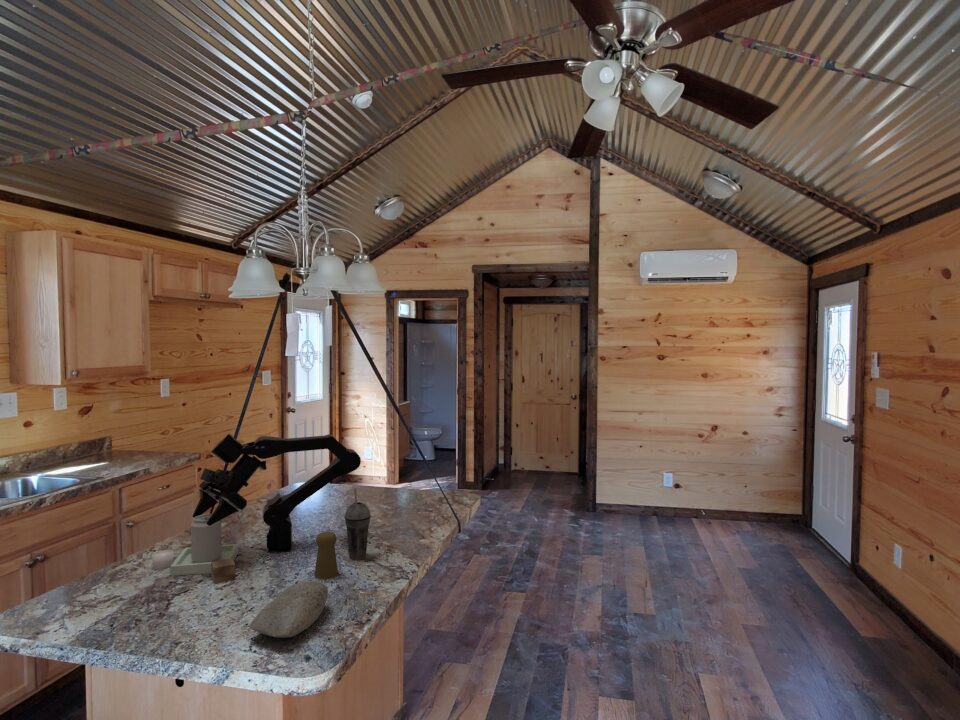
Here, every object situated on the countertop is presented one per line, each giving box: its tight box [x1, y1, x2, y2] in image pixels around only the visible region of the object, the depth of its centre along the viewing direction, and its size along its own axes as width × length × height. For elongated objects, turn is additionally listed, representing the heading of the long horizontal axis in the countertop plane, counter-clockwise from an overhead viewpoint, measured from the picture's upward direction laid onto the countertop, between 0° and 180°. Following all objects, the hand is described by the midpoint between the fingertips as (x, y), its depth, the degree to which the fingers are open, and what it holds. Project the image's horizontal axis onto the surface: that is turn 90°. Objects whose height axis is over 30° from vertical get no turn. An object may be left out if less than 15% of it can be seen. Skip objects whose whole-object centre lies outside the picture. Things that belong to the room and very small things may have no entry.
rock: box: [249, 580, 329, 639], centre depth 122 cm, size 8×11×20 cm
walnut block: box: [210, 558, 236, 584], centre depth 146 cm, size 5×5×4 cm
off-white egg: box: [151, 549, 175, 570], centre depth 153 cm, size 5×5×4 cm
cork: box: [313, 531, 339, 580], centre depth 148 cm, size 6×6×11 cm
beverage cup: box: [344, 487, 372, 561], centre depth 160 cm, size 7×7×20 cm
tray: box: [169, 543, 239, 577], centre depth 155 cm, size 14×14×2 cm
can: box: [190, 513, 223, 563], centre depth 155 cm, size 8×8×12 cm
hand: (200, 521), depth 154 cm, fingers open, 9 cm apart
